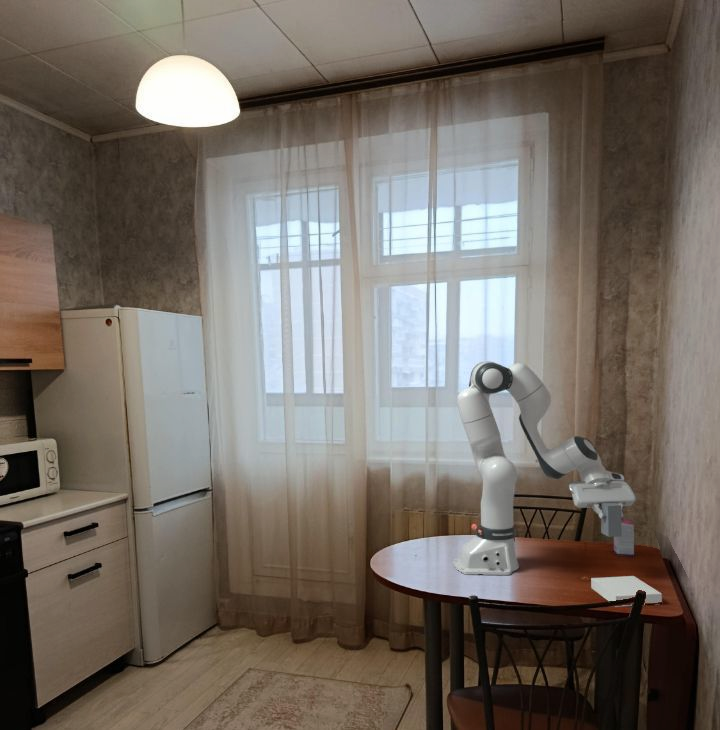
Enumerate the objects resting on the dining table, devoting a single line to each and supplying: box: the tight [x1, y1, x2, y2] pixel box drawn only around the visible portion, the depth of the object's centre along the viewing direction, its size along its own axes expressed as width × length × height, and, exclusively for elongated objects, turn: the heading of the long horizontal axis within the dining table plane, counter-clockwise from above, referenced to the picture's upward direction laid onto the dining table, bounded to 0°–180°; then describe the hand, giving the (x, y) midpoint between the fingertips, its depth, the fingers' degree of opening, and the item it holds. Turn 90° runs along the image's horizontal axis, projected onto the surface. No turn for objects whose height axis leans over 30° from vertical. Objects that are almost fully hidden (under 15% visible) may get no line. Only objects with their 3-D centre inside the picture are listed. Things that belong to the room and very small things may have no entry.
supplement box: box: [613, 520, 635, 557], centre depth 205 cm, size 6×6×12 cm
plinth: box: [590, 575, 663, 608], centre depth 167 cm, size 14×14×3 cm
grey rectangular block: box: [600, 502, 623, 538], centre depth 182 cm, size 4×4×10 cm
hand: (612, 517), depth 181 cm, fingers closed on grey rectangular block, 4 cm apart
